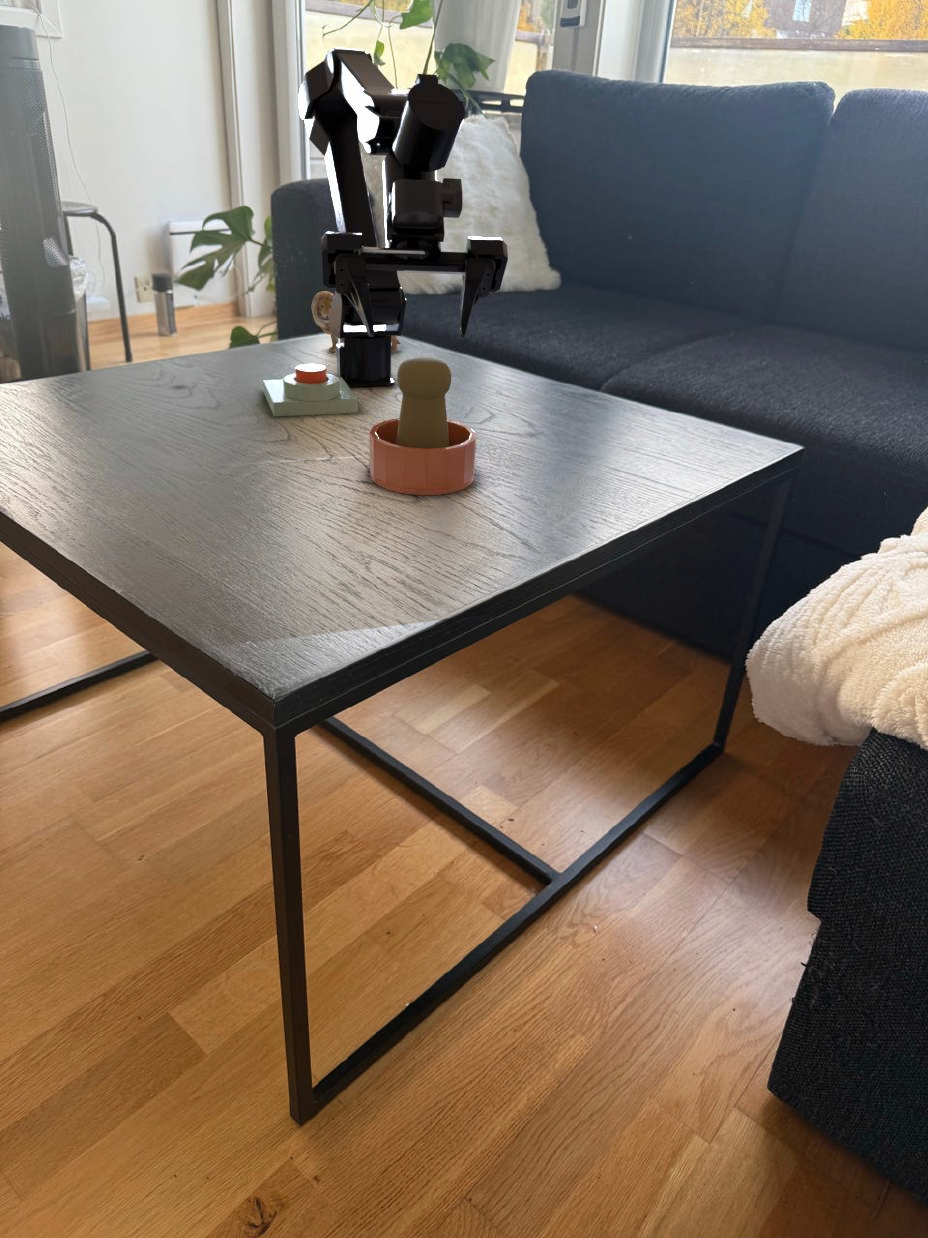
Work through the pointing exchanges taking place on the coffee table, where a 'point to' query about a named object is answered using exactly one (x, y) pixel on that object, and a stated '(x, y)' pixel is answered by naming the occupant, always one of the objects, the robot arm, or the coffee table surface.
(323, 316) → the lion figurine
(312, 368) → the button
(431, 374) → the cork
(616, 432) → the coffee table surface
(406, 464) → the bowl
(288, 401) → the button box
